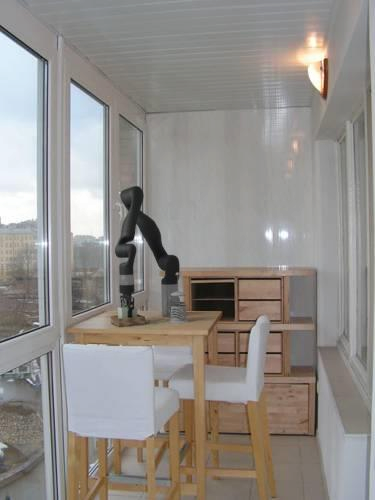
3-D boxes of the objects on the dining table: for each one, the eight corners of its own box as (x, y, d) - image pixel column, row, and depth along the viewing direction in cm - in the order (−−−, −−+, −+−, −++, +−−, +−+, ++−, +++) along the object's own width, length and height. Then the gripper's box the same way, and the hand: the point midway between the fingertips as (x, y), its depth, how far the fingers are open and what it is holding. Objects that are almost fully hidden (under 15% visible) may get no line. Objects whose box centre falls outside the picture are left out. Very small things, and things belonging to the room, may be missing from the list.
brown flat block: (135, 321, 282) (135, 313, 282) (145, 324, 271) (144, 316, 271) (111, 323, 276) (110, 315, 276) (119, 327, 265) (119, 318, 265)
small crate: (133, 318, 278) (132, 306, 278) (137, 319, 273) (136, 307, 272) (118, 319, 274) (117, 307, 274) (122, 321, 269) (121, 308, 269)
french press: (186, 323, 272) (185, 273, 272) (163, 323, 274) (162, 273, 274) (190, 320, 282) (188, 271, 281) (168, 319, 284) (166, 271, 283)
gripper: (139, 284, 268) (140, 318, 269) (128, 282, 281) (129, 314, 282) (124, 285, 265) (125, 319, 265) (114, 283, 278) (115, 316, 278)
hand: (127, 317), depth 274 cm, fingers closed on small crate, 6 cm apart
